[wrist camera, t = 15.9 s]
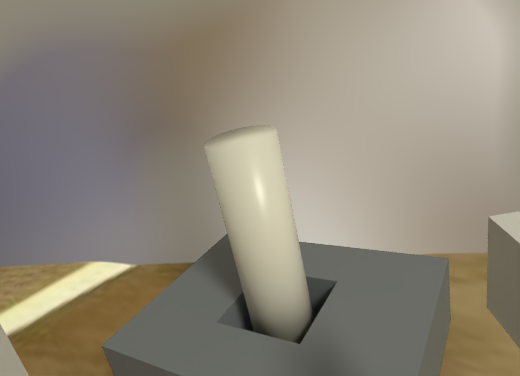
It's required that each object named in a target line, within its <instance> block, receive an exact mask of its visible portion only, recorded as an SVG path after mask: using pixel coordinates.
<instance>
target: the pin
mask: <svg viewBox="0 0 520 376" xmlns="http://www.w3.org/2000/svg"><path fill="white" fill-rule="evenodd" d="M204 149H205V152H206V156H207V159H208V163H209V167H210V171H211V174H212V178H213V182H214V185H215V189H216V193H217V197H218V200H219V204H220V208H221V212H222V215H223V219H224V223H225V226H226V230H227V234H228V237H229V241H230V245H231V249H232V252H233V256H234V260H235V263H236V267H237V271H238V274H239V278H240V282H241V286H242V289H243V293H244V297H245V300H246V304H247V308H248V311H249V315H250V319H251V323H252V326H253V330H254V332H255V333H259V334H263V335H267V336H271V337H274V338H278V339H282V340H286V341H290V342H294V343H297V344H301V342H302V340H303V338H304V337H305V335H306V333H307V332H308V330H309V328H310V327H311V325H312V323H313V322H314V316H313V311H312V306H311V301H310V296H309V291H308V286H307V281H306V276H305V271H304V266H303V261H302V256H301V251H300V246H299V240H298V236H297V230H296V225H295V220H294V215H293V210H292V205H291V200H290V195H289V190H288V185H287V180H286V175H285V170H284V165H283V160H282V155H281V150H280V145H279V140H278V135H277V130H276V128H275V127H273V126H268V125H262V126H261V125H260V126H250V127H244V128H240V129H235V130H231V131H228V132H225V133H222V134H219V135H217V136H215V137H212V138H211V139H209V140H207V141H206V142H205V143H204Z"/></svg>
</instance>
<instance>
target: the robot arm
mask: <svg viewBox="0 0 520 376" xmlns="http://www.w3.org/2000/svg"><path fill="white" fill-rule="evenodd" d="M487 308H488V309H489V310H490V312H491V313H492V314H493V315H494V317H495V318H496V319H497V320H498V322H499V323H500V324H501V325H502V327H503V328H504V329H505V331H506V332H507V333H508V334H509V336H510V337H511V338H512V339H513V341H514V342H515V343H516V344H517V346H518V347H519V348H520V211H519V212H513V213H507V214H501V215H495V216H489V221H488V267H487ZM0 376H29V375H28V373H27V372H26V370H25V368H24V366H23V364H22V363H21V361H20V359H19V357H18V355H17V354H16V352H15V350H14V348H13V346H12V345H11V343H10V341H9V339H8V337H7V336H6V334H5V332H4V330H3V328H2V327H1V325H0Z"/></svg>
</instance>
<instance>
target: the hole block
mask: <svg viewBox="0 0 520 376" xmlns="http://www.w3.org/2000/svg"><path fill="white" fill-rule="evenodd" d="M299 246H300V251H301V256H302V261H303V266H304V271H305V276H306V281H307V286H308V291H309V296H310V301H311V306H312V311H313V316H314V322H313V323H312V325H311V327H310V328H309V330H308V332H307V333H306V335H305V337H304V338H303V340H302V342H301V344H297V343H294V342H290V341H286V340H282V339H278V338H274V337H271V336H267V335H263V334H259V333H255V332H254V330H253V326H252V323H251V319H250V315H249V311H248V308H247V304H246V300H245V297H244V293H243V289H242V286H241V282H240V278H239V274H238V271H237V267H236V263H235V260H234V256H233V252H232V249H231V245H230V241H229V237H228V234H226V235H225V236H224V237H223V238H222V239H221V240H219V241H218V242H217V243H216V244H215V245H214V246H213V247H212V248H211V249H209V250H208V251H207V252H206V253H205V254H204V255H203V256H202V257H200V258H199V259H198V260H197V261H196V262H195V263H194V264H193V265H192V266H190V267H189V268H188V269H187V270H186V271H185V272H184V273H183V274H181V275H180V276H179V277H178V278H177V279H176V280H175V281H174V282H173V283H171V284H170V285H169V286H168V287H167V288H166V289H165V290H164V291H162V292H161V293H160V294H159V295H158V296H157V297H156V298H155V299H154V300H152V301H151V302H150V303H149V304H148V305H147V306H146V307H145V308H143V309H142V310H141V311H140V312H139V313H138V314H137V315H136V316H135V317H133V318H132V319H131V320H130V321H129V322H128V323H127V324H126V325H124V326H123V327H122V328H121V329H120V330H119V331H118V332H117V333H116V334H114V335H113V336H112V337H111V338H110V339H109V340H108V341H107V342H105V343H104V344H103V345H102V348H103V350H104V352H105V355H106V357H107V359H108V361H109V364H110V366H111V368H112V370H113V373H114V375H115V376H439V373H440V368H441V363H442V358H443V353H444V349H445V344H446V339H447V334H448V330H449V325H450V320H451V315H450V287H449V260H448V258H441V257H432V256H423V255H414V254H404V253H396V252H387V251H377V250H368V249H359V248H350V247H341V246H333V245H323V244H314V243H306V242H299Z"/></svg>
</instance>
